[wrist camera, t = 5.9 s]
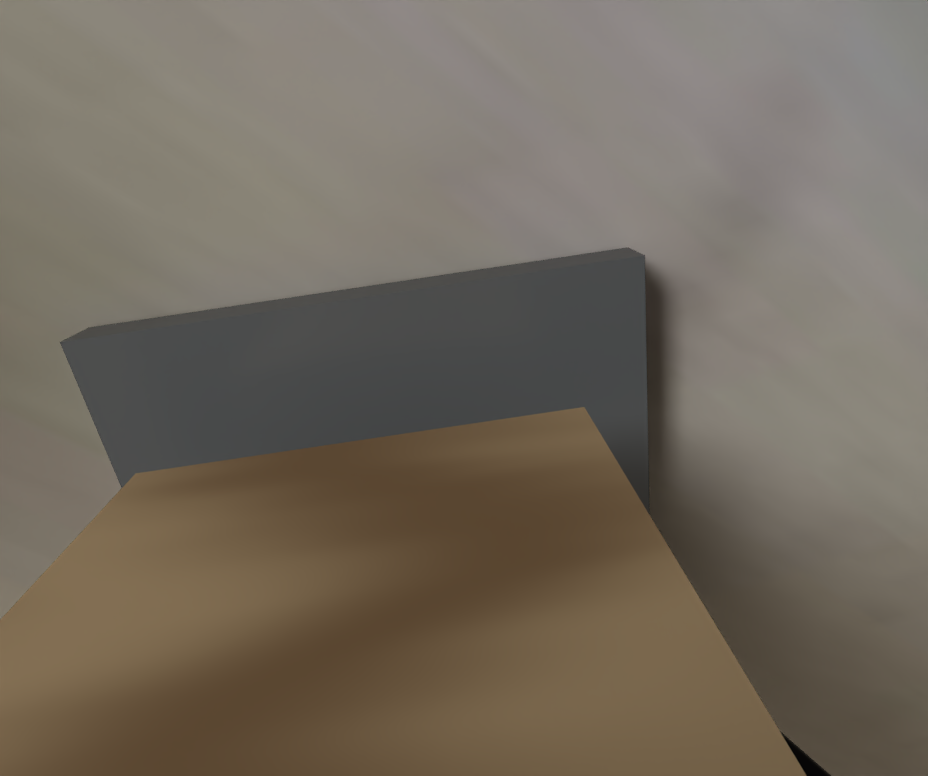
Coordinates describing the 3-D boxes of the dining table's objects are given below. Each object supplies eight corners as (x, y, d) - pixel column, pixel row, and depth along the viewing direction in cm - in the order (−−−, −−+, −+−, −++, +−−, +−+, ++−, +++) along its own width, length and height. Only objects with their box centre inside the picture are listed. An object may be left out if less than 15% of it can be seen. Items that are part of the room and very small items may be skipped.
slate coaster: (628, 247, 10) (644, 255, 9) (640, 653, 13) (652, 683, 12) (88, 327, 10) (59, 342, 9) (242, 711, 13) (230, 744, 12)
